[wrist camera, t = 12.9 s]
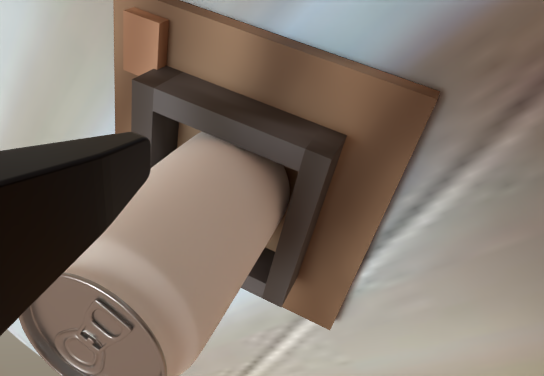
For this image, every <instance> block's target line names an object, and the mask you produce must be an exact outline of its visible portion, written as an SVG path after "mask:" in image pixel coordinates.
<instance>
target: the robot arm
mask: <svg viewBox="0 0 544 376" xmlns="http://www.w3.org/2000/svg"><path fill="white" fill-rule="evenodd" d="M150 170H151V143H150V140H149V139H148V138H147V137H145V136H143V135H140V134H138V133H135V132H124V133H118V134H111V135H104V136H97V137H91V138H84V139H77V140H70V141H64V142H57V143H50V144H43V145H37V146H30V147H23V148H16V149H10V150H3V151H0V336H1V335H2V334H3V333H4V332H5V331H6V330H7V329H8V328H9V327H10V326H11V325H12V324H13V323H14V322H15V321H16V320H17V319H18V318H19V317H20V316H21V315H22V314H23V313H24V312H25V311H26V310H27V309H28V308H29V307H30V306H31V305H32V304H33V303H34V302H35V301H36V300H37V299H38V298H39V297H40V296H41V295H42V294H43V293H44V292H45V291H46V290H47V289H48V288H49V287H50V286H51V285H52V284H53V283H54V282H55V281H56V280H57V279H58V278H59V277H60V276H61V275H62V274H63V273H64V272H65V271H66V270H67V269H68V268H69V267H70V266H71V265H72V264H73V263H74V262H75V261H76V260H77V259H78V258H79V257H80V256H81V255H82V254H83V253H84V252H85V251H86V250H87V249H88V248H89V247H90V246H91V245H92V244H93V243H94V242H95V241H96V240H97V239H98V238H99V237H100V236H101V235H102V234H103V233H104V232H105V231H106V230H107V228H108V227H109V226H110V225H111V224H112V223H113V221H114V220H115V219H116V218H117V217H118V215H119V214H120V213H121V212H122V210H123V209H124V208H125V207H126V205H127V204H128V203H129V202H130V200H131V199H132V198H133V197H134V195H135V194H136V193H137V192H138V190H139V189H140V188H141V187H142V186H143V184H144V183H145V182H146V180H147V179H148V177H149V175H150Z"/></svg>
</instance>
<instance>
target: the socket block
mask: <svg viewBox="0 0 544 376" xmlns="http://www.w3.org/2000/svg"><path fill="white" fill-rule="evenodd" d="M114 71H115V134H118V133H124V132H135V133H138V134H140V135H143V136H145V137H147V138H148V139H149V140H150V143H151V168H152V167H153V166H155V165H156V164H157V163H158V162H160V161H161V160H162V159H164V158H165V157H166V156H168V155H169V154H170V153H172V152H173V151H174V150H176V149H177V148H178V147H180V146H181V145H182V144H184V143H185V142H187V141H188V140H189V139H191V138H192V137H194V136H195V135H197V134H198V133H200V132H204V133H207V134H209V135H212V136H214V137H216V138H219V139H221V140H224V141H226V142H228V143H231V144H233V145H236V146H238V147H241V148H243V149H245V150H248V151H250V152H253V153H255V154H257V155H260V156H262V157H265V158H267V159H269V160H272V161H274V162H277V163H279V164H282V165H283V166H284V169H285V171H286V174H287V177H288V180H289V186H290V198H289V203H288V207H287V209H286V212H285V214H284V216H283V217H282V219H281V221H280V223H279V224H278V226H277V228H276V230H275V231H274V233H273V235H272V236H271V238H270V240H269V241H268V243H267V245H266V246H265V248H264V250H263V251H262V253H261V255H260V256H259V258H258V260H257V261H256V263H255V265H254V266H253V268H252V270H251V271H250V273H249V275H248V276H247V278H246V280H245V281H244V283H243V284H242V286H241V288H243V289H245V290H247V291H249V292H251V293H253V294H255V295H257V296H259V297H261V298H263V299H265V300H267V301H269V302H271V303H273V304H275V305H277V306H280V307H283V308H285V309H287V310H289V311H291V312H294V313H296V314H298V315H300V316H302V317H304V318H306V319H308V320H310V321H312V322H314V323H316V324H318V325H320V326H322V327H324V328H326V329H328V330H330V329H331V327H332V325H333V323H334V321H335V318H336V316H337V314H338V312H339V310H340V308H341V306H342V303H343V301H344V299H345V297H346V295H347V293H348V291H349V288H350V286H351V284H352V282H353V280H354V278H355V276H356V273H357V271H358V269H359V267H360V265H361V263H362V261H363V258H364V256H365V254H366V252H367V250H368V248H369V246H370V243H371V241H372V239H373V237H374V235H375V233H376V231H377V228H378V226H379V224H380V222H381V220H382V218H383V216H384V213H385V211H386V209H387V207H388V205H389V203H390V201H391V198H392V196H393V194H394V192H395V190H396V188H397V186H398V183H399V181H400V179H401V177H402V175H403V173H404V171H405V168H406V166H407V164H408V162H409V160H410V158H411V156H412V153H413V151H414V149H415V147H416V145H417V143H418V141H419V138H420V136H421V134H422V132H423V130H424V128H425V126H426V124H427V121H428V119H429V117H430V115H431V113H432V111H433V109H434V106H435V104H436V102H437V100H438V97H439V93H440V91H437V90H434V89H432V88H429V87H426V86H423V85H420V84H417V83H414V82H412V81H409V80H406V79H403V78H400V77H397V76H394V75H392V74H389V73H386V72H383V71H380V70H377V69H374V68H372V67H369V66H366V65H363V64H360V63H357V62H354V61H352V60H349V59H346V58H343V57H340V56H337V55H334V54H331V53H329V52H326V51H323V50H320V49H317V48H314V47H311V46H309V45H306V44H303V43H300V42H297V41H294V40H291V39H289V38H286V37H283V36H280V35H277V34H274V33H271V32H269V31H266V30H263V29H260V28H257V27H254V26H251V25H249V24H246V23H243V22H240V21H237V20H234V19H231V18H229V17H226V16H223V15H220V14H217V13H214V12H211V11H208V10H206V9H203V8H200V7H197V6H194V5H191V4H188V3H186V2H183V1H180V0H114Z"/></svg>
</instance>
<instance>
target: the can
mask: <svg viewBox="0 0 544 376" xmlns="http://www.w3.org/2000/svg"><path fill="white" fill-rule="evenodd" d="M289 198H290V186H289V180H288V177H287V174H286V171H285V169H284V166H283V165H282V164H279V163H277V162H274V161H272V160H269V159H267V158H265V157H262V156H260V155H257V154H255V153H253V152H250V151H248V150H245V149H243V148H241V147H238V146H236V145H233V144H231V143H228V142H226V141H224V140H221V139H219V138H216V137H214V136H212V135H209V134H207V133H204V132H200V133H198V134H197V135H195V136H194V137H192V138H191V139H189V140H188V141H187V142H185V143H184V144H182V145H181V146H180V147H178V148H177V149H176V150H174V151H173V152H172V153H170V154H169V155H168V156H166V157H165V158H164V159H162V160H161V161H160V162H158V163H157V164H156V165H155V166H153V167H152V168H151V170H150V175H149V177H148V179H147V180H146V182H145V183H144V184H143V186H142V187H141V188H140V189H139V190H138V192H137V193H136V194H135V195H134V197H133V198H132V199H131V200H130V202H129V203H128V204H127V205H126V207H125V208H124V209H123V210H122V212H121V213H120V214H119V215H118V217H117V218H116V219H115V220H114V221H113V223H112V224H111V225H110V226H109V227H108V228H107V230H106V231H105V232H104V233H103V234H102V235H101V236H100V237H99V238H98V239H97V240H96V241H95V242H94V243H93V244H92V245H91V246H90V247H89V248H88V249H87V250H86V251H85V252H84V253H83V254H82V255H81V256H80V257H79V258H78V259H77V260H76V261H75V262H74V263H73V264H72V265H71V266H70V267H69V268H68V269H67V270H66V271H65V272H64V273H63V274H62V275H61V276H60V277H59V278H58V279H57V280H56V281H55V282H54V283H53V284H52V285H51V286H50V287H49V288H48V289H47V290H46V291H45V292H44V293H43V294H42V295H41V296H40V297H39V298H38V299H37V300H36V301H35V302H34V303H33V304H32V305H31V306H30V307H29V308H28V309H27V310H26V311H25V312H24V313H23V314H22V315H21V316H20V317H19V320H20V323H21V325H22V328H23V330H24V332H25V334H26V336H27V338H28V339H29V341H30V342H31V344H32V345H33V347H34V348H35V350H36V351H37V352H38V353H39V355H40V356H41V357H42V358H43V359H44V360H45V361H46V362H47V363H48V364H49V366H51V367H52V368H53V369H54V370H55V371H56V372H57V373H58V374H60V375H61V376H178V375H180V374H181V373H183V372H184V371H185V370H187V369H188V368H189V367H190V366H191V365H192V364H193V362H194V361H195V360H196V359H197V357H198V356H199V354H200V353H201V351H202V350H203V348H204V347H205V345H206V343H207V342H208V340H209V338H210V337H211V335H212V334H213V332H214V330H215V329H216V327H217V326H218V324H219V322H220V321H221V319H222V317H223V316H224V314H225V312H226V311H227V309H228V308H229V306H230V304H231V303H232V301H233V299H234V298H235V296H236V294H237V293H238V291H239V289H240V288H241V286H242V284H243V283H244V281H245V280H246V278H247V276H248V275H249V273H250V271H251V270H252V268H253V266H254V265H255V263H256V261H257V260H258V258H259V256H260V255H261V253H262V251H263V250H264V248H265V246H266V245H267V243H268V241H269V240H270V238H271V236H272V235H273V233H274V231H275V230H276V228H277V226H278V224H279V223H280V221H281V219H282V217H283V216H284V214H285V212H286V209H287V207H288V203H289Z"/></svg>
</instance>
